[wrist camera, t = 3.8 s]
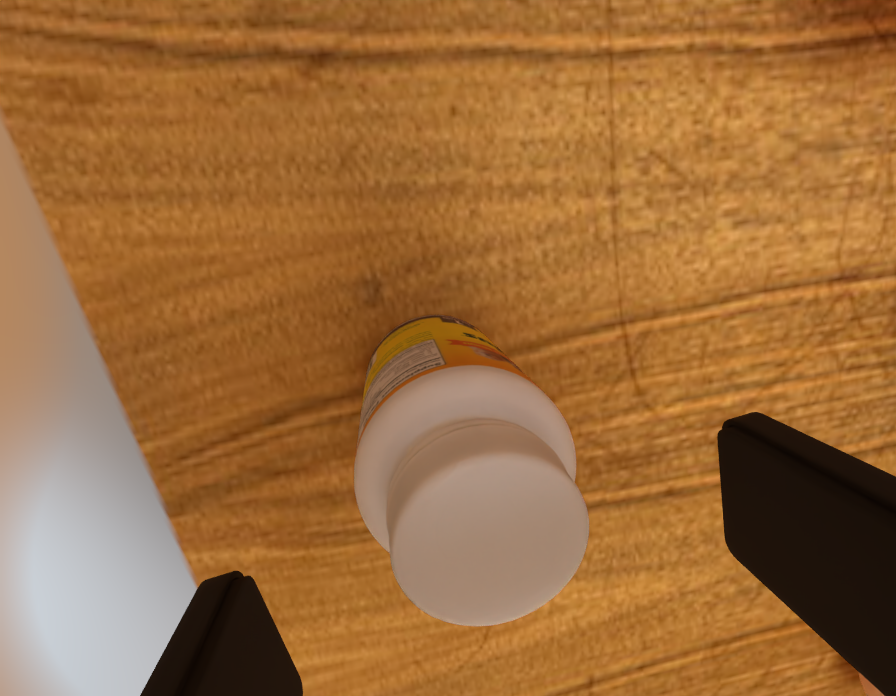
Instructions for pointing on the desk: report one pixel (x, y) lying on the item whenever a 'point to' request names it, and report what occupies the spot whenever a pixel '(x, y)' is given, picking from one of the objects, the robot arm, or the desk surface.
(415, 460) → the supplement bottle
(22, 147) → the desk surface
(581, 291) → the desk surface
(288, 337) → the desk surface
